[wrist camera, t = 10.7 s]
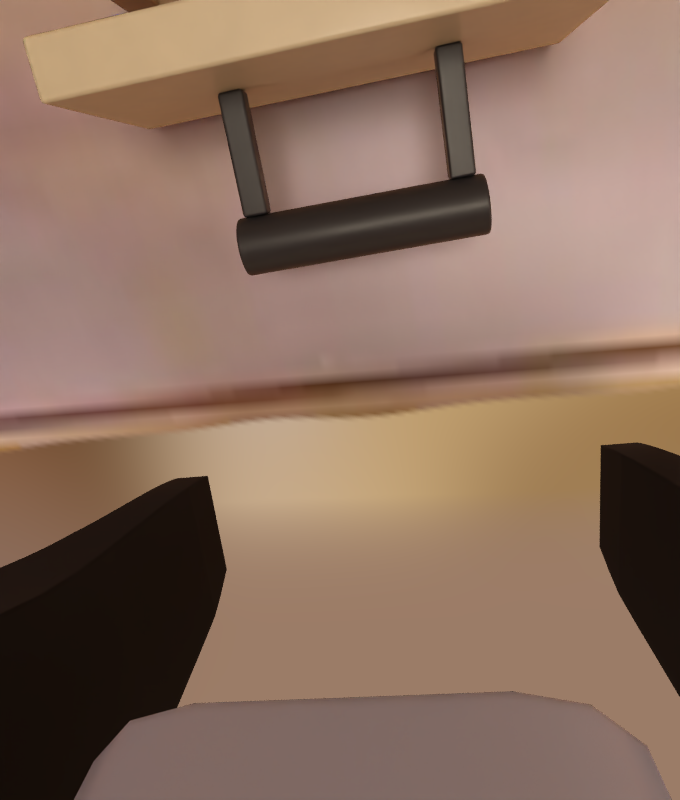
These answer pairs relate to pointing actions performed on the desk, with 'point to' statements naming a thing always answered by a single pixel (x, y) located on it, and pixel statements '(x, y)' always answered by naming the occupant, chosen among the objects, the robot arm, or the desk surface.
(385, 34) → the drawer
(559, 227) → the desk surface
